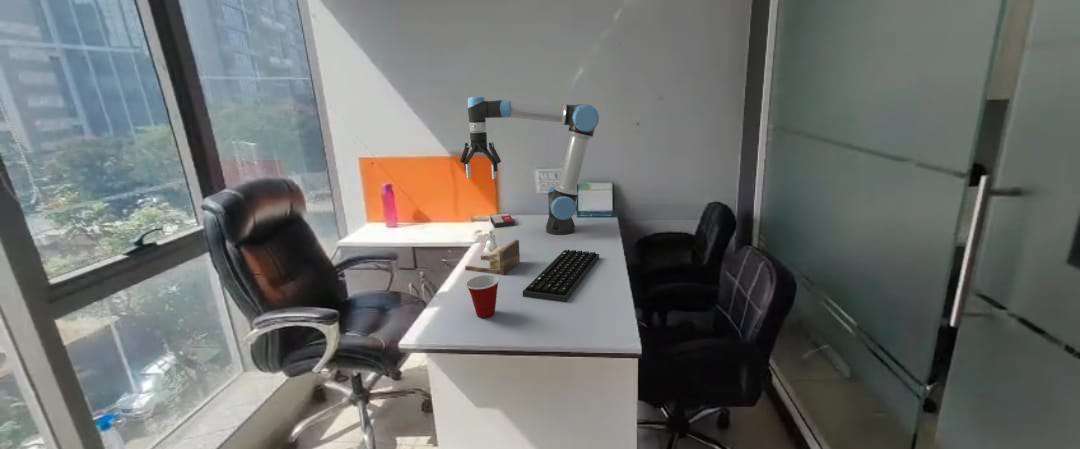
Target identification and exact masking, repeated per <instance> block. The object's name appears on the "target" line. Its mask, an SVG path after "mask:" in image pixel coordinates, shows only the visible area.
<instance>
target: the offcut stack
mask: <svg viewBox="0 0 1080 449" xmlns="http://www.w3.org/2000/svg"><path fill="white" fill-rule="evenodd" d="M504 247H505V246H503V247H502V246H497V249H495V250H494V251H493V252H492V253H490V260H489V268H490V269H498V270H500V257H499V251H500V250H501V249H503V248H504Z"/></svg>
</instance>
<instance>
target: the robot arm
mask: <svg viewBox="0 0 1080 449" xmlns="http://www.w3.org/2000/svg"><path fill="white" fill-rule="evenodd" d="M467 114H468V124H469V125H468V126H469V132H470V133H469V139H470V142H468V141H467V142H464V149H463V152H462V155H461V158H460V161H459V162H460V163H463V164H464V171H465V175H466V179H469V178H472V172H471V171H472V170H471V162H470V161H471V159H472V158H473V156H474V155H475V153H476V154H477V153H480V154H481V153H483V154H484V155H485V156H486V158H488V159H489V161H490V162H491V163H492V164H491V165H490V166H491V178H492V180H494V179H497V171H498V170H499V169H498V164H500V163H502V160H501V158H500V155H499V154H498V152H497V150H496V148H495V146H494V145H495V144H494V142H493V141H492V142H488V141H487V140H488V137H487V136H488V135H487V132H486V131H487V120H486V119H492V118H493V119H497V118H499V119H501V118H504V119H505V118H511V119H523V120H532V121H533V120H534V121H540V122H542V121H543V122H550V123H551V122H552V123H553V122H554V123H561V124H562V126H563V125H564V126H568V133H569V135H570V137H569V140H568V145H567V149H566V153H565V157H564V161H563V164H562V169H561V174H560V178H559V182H558V185H557V186H552V187H549V188H548V189H547V199H548V201H547V202H548V218H547V223H546V225H545V232H546V233H548V234H550V235H560V236H561V235H568V234H573V233H574V232H575V231H576V225H575V223H574V220H573V216H574V215H575V213H576V210H577V205H576V203H577V200H578V197H579V196H578V195H579V192H578V190H577V187H578V183H579V178H580V175H581V170H582V167H583V163H584V159H585V154H586V150H587V148H588V142H589V140H590V139H593V137H594V134H595V129H596V128H597V127H598V124H599V121H600V114H599V112H598V110H597V109H596V107H594V106H593V105H591V104H587V103H579V104H564V105H562V106H561V105H551V104H541V103H530V102H521V101H520V102H519V101H512V100H506V99H502V100H501V99H498V100H485V97H484V96H470V97H468V98H467ZM470 148H471V150H470ZM488 148H489V149H488ZM469 151H470V152H469Z"/></svg>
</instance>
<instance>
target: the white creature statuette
mask: <svg viewBox="0 0 1080 449" xmlns="http://www.w3.org/2000/svg"><path fill="white" fill-rule="evenodd" d="M484 236H485V238H486V240H487V241H485V242H486V243H485V247H484V248H483V251H482V252H483V256H490V253H492V252H493V251H494V250H495V249H497V248H498V246H497V242H496V235H495V233H494V231H493V230H492V229H490V230H487V231H486V232H485V233H484Z"/></svg>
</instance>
